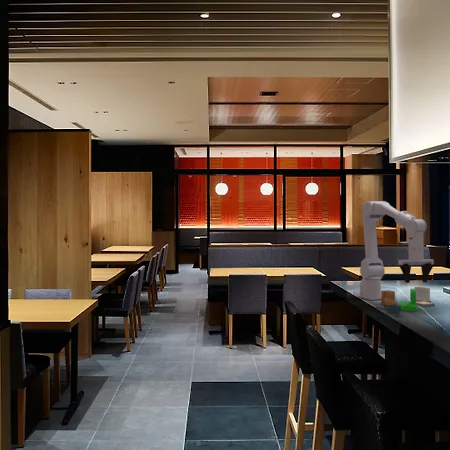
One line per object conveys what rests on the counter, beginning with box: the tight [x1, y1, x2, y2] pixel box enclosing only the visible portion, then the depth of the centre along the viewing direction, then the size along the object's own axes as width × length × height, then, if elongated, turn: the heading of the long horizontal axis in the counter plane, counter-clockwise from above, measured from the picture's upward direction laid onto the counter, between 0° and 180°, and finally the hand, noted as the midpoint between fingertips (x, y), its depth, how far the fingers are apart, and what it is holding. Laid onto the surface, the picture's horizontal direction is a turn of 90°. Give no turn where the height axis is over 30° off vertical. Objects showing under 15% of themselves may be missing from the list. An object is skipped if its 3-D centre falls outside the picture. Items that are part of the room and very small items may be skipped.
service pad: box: [416, 301, 436, 308], centre depth 215 cm, size 8×6×1 cm
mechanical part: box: [399, 288, 418, 312], centre depth 207 cm, size 12×6×8 cm, turn 162°
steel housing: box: [414, 286, 432, 303], centre depth 223 cm, size 7×4×6 cm, turn 19°
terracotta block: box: [380, 289, 396, 307], centre depth 216 cm, size 4×4×6 cm
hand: (416, 282), depth 206 cm, fingers open, 7 cm apart
